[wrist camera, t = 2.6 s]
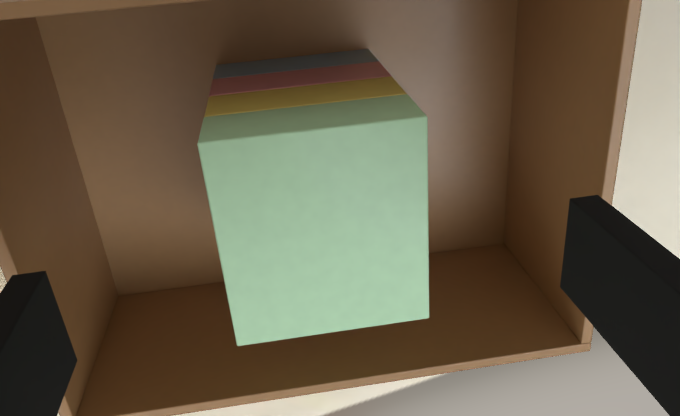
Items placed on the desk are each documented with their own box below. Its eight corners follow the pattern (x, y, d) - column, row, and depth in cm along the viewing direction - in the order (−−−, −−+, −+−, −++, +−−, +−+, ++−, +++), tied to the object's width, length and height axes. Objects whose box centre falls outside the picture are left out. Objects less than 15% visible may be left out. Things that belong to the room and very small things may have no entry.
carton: (113, 299, 27) (65, 432, 20) (16, -21, 21) (-102, 12, 14) (507, 244, 29) (590, 351, 22) (527, -67, 23) (651, -58, 16)
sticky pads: (368, 48, 23) (428, 115, 15) (376, 198, 26) (429, 318, 18) (215, 64, 23) (196, 142, 15) (241, 215, 26) (236, 347, 18)
